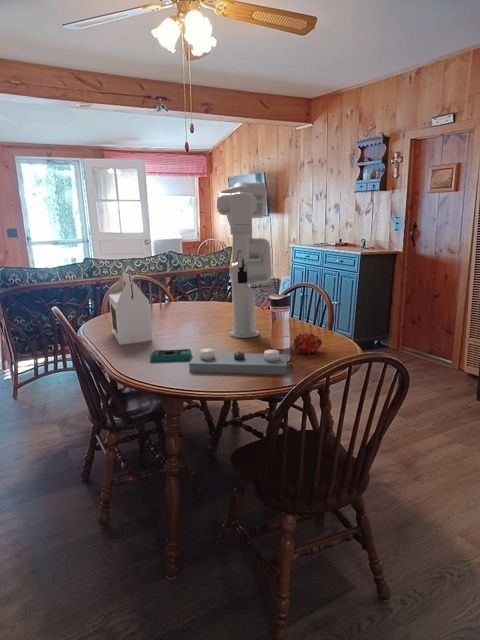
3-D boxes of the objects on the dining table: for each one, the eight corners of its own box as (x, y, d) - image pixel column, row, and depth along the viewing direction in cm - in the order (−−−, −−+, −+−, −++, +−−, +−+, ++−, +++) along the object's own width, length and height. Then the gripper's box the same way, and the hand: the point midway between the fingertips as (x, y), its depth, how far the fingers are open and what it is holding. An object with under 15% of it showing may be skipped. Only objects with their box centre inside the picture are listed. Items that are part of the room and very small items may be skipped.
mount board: (197, 360, 162) (197, 352, 162) (287, 362, 158) (287, 354, 157) (189, 371, 151) (189, 363, 150) (285, 374, 146) (285, 365, 145)
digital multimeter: (152, 357, 169) (151, 349, 168) (191, 355, 170) (191, 347, 169) (149, 363, 162) (148, 355, 161) (190, 361, 163) (190, 353, 162)
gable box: (152, 341, 189) (147, 274, 183) (120, 345, 184) (113, 276, 178) (141, 329, 209) (136, 268, 203) (112, 333, 204) (106, 271, 198)
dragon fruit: (290, 358, 167) (318, 359, 171) (300, 350, 160) (330, 351, 164) (286, 337, 170) (314, 338, 175) (296, 328, 163) (325, 329, 167)
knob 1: (202, 363, 159) (201, 348, 157) (216, 363, 158) (215, 348, 157) (199, 368, 154) (198, 352, 152) (213, 368, 153) (213, 352, 152)
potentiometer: (234, 356, 156) (234, 347, 155) (245, 357, 155) (245, 347, 154) (233, 360, 152) (233, 350, 151) (243, 360, 152) (243, 350, 151)
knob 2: (265, 364, 155) (264, 349, 154) (279, 365, 155) (279, 349, 153) (263, 369, 151) (263, 353, 149) (278, 370, 150) (278, 354, 149)
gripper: (233, 229, 163) (235, 280, 167) (226, 231, 149) (228, 286, 153) (254, 229, 162) (255, 279, 166) (249, 230, 148) (250, 286, 152)
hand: (242, 282), depth 160 cm, fingers closed
